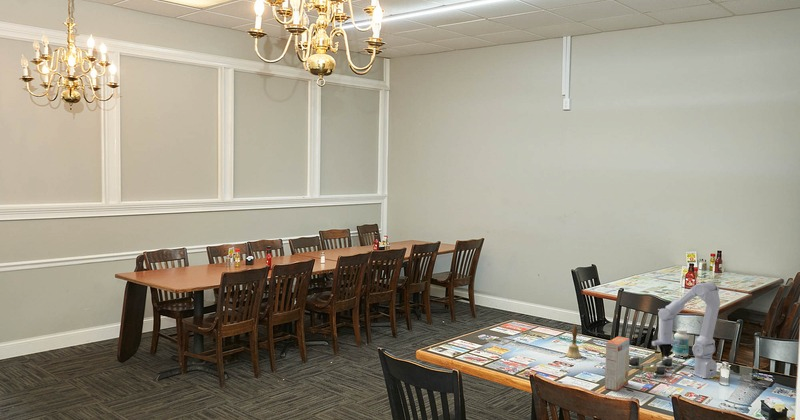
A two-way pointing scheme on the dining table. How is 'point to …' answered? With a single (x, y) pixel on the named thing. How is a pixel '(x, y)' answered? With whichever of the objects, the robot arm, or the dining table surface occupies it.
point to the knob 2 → (664, 359)
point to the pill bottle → (681, 343)
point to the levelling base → (651, 365)
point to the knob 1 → (634, 360)
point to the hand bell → (573, 346)
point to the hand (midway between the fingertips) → (664, 358)
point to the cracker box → (617, 363)
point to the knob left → (655, 369)
